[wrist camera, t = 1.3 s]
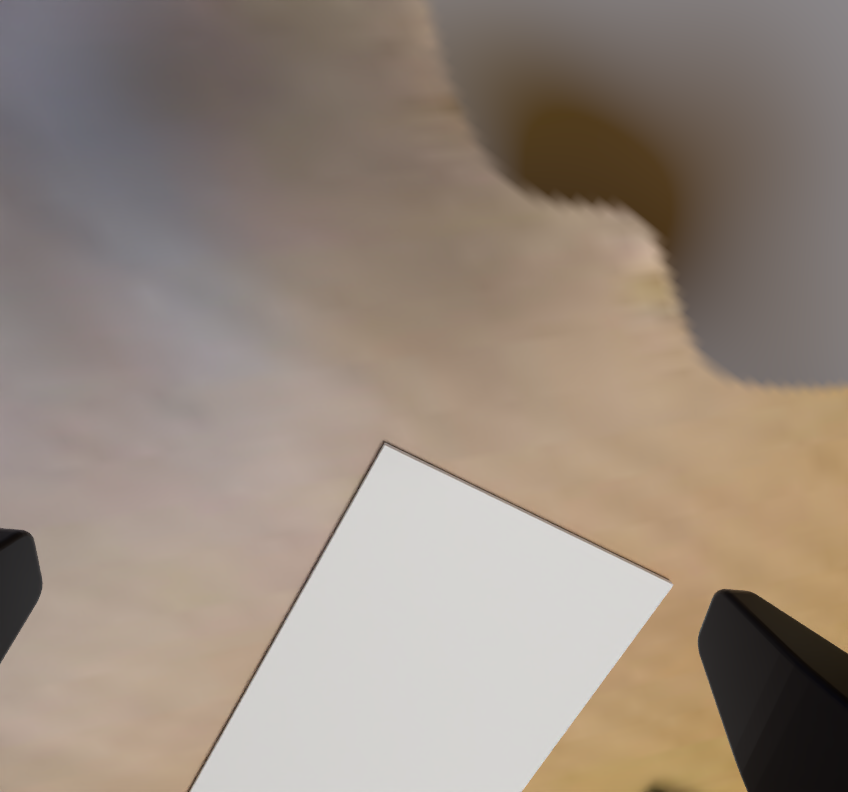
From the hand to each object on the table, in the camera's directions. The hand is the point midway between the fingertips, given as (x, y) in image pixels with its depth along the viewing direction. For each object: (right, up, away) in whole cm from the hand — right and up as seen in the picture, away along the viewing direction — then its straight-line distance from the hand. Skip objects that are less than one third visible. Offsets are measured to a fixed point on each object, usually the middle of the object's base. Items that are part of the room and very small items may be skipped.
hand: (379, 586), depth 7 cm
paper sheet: (0, -11, +17) cm, 20 cm away
